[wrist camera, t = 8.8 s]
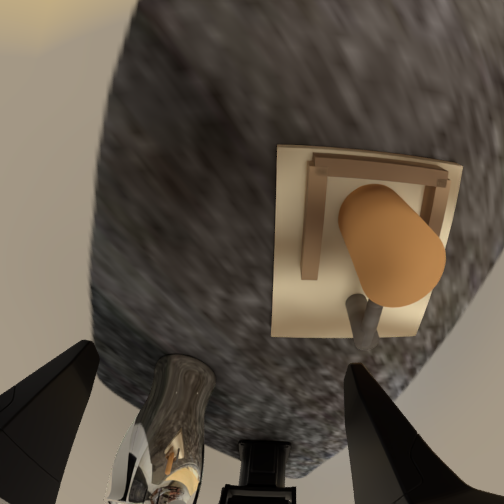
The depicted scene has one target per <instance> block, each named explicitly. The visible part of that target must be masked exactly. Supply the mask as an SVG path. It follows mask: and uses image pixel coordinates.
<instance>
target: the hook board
mask: <svg viewBox="0 0 504 504" xmlns="http://www.w3.org/2000/svg"><path fill="white" fill-rule="evenodd" d="M462 169H463V166H461V165H459V164H457V163H454V162H448V161H443V160H437V159H431V158H424V157H417V156H411V155H403V154H395V153H387V152H379V151H369V150H359V149H348V148H336V147H321V146H303V145H277V180H276V220H275V252H274V280H273V305H272V327H271V337H299V338H354V343H355V346H356V348H358V349H359V350H369V349H372V348H374V347H375V346H376V345H377V344H378V342H379V337H401V336H415V335H416V333H417V330H418V328H419V325H420V323H421V320H422V318H423V315H424V312H425V310H426V307H427V304H428V301H429V298H430V295H431V293H432V290H433V289H432V290H431V291H430V292H429V293H428V294H427V295H426V296H425V297H423V298H422V299H420V300H419V301H417V302H415V303H413V304H410V305H407V306H403V307H396V308H391V307H384V306H380V305H378V304H376V303H374V302H373V301H371V300H370V299H369V298H368V297H367V296H366V294H365V293H364V291H363V289H362V286H361V284H360V281H359V278H358V275H357V273H356V270H355V267H354V265H353V262H352V259H351V257H350V254H349V252H348V249H347V246H346V244H345V241H344V239H343V236H342V234H341V231H340V229H339V224H338V215H339V211H340V207H341V205H342V203H343V202H344V200H345V199H346V197H347V196H348V195H349V194H350V193H351V192H353V191H354V190H355V189H357V188H359V187H361V186H364V185H367V184H381V185H385V186H387V187H389V188H391V189H392V190H394V191H395V192H396V193H397V194H398V195H399V196H400V197H401V198H402V199H403V200H404V201H405V202H406V203H407V204H408V205H409V206H410V207H411V208H412V209H413V210H414V211H415V212H416V213H417V214H418V215H419V216H420V217H421V218H422V219H423V220H424V221H425V223H426V224H427V225H428V226H429V227H430V228H431V229H432V230H433V231H434V232H435V233H436V234H437V236H438V237H439V238H440V239H441V241H442V243H443V245H444V248H445V247H446V243H447V240H448V236H449V232H450V228H451V224H452V219H453V215H454V211H455V206H456V201H457V196H458V191H459V186H460V181H461V175H462Z"/></svg>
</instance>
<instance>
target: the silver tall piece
mask: <svg viewBox="0 0 504 504" xmlns="http://www.w3.org/2000/svg"><path fill="white" fill-rule="evenodd" d="M215 385H216V377H215V374H214V372H213V371H212V370H211V369H210V368H209V367H208V366H207V365H206V364H205V363H203V362H201V361H200V360H198V359H195V358H193V357H190V356H186V355H178V354H174V355H167V356H164V357H162V358H161V359H159V360H158V362H157V363H156V366H155V370H154V376H153V383H152V387H151V391H150V393H149V396H148V398H147V400H146V402H145V403H144V405H143V407H142V408H141V410H140V412H139V413H138V415H137V416H136V418H135V419H134V421H133V423H132V424H131V426H130V428H129V429H128V431H127V433H126V435H125V437H124V438H123V440H122V442H121V444H120V446H119V449H118V451H117V454H116V457H115V460H114V463H113V466H112V469H111V473H110V477H109V481H108V486H107V491H106V494H105V498H104V502H105V503H106V504H196V503H197V500H198V496H199V492H200V488H201V482H202V477H203V469H204V419H205V412H206V407H207V404H208V401H209V399H210V397H211V395H212V393H213V390H214V388H215Z"/></svg>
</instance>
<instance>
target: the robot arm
mask: <svg viewBox="0 0 504 504" xmlns="http://www.w3.org/2000/svg"><path fill="white" fill-rule="evenodd" d="M99 361H100V358H99V354H98V352H97V350H96V348H95V345H94V343H93V342H92V341H88V340H81V341H80V342H78V343H76V344H75V345H73V346H72V347H70V348H69V349H67V350H66V351H65V352H63V353H62V354H60V355H59V356H57V357H56V358H54V359H53V360H51V361H50V362H48V363H47V364H45V365H44V366H42V367H41V368H39V369H38V370H37V371H35V372H34V373H32V374H31V375H29V376H28V377H26V378H25V379H23V380H22V381H20V382H19V383H18V384H16V386H13V387H12V388H10V389H9V390H7V391H6V392H4V393H3V394H1V395H0V504H55V503H56V499H57V495H58V491H59V488H60V484H61V480H62V477H63V474H64V470H65V467H66V464H67V461H68V458H69V454H70V451H71V448H72V445H73V442H74V439H75V436H76V433H77V430H78V427H79V425H80V422H81V419H82V416H83V413H84V411H85V408H86V405H87V403H88V400H89V397H90V394H91V391H92V387H93V383H94V380H95V376H96V372H97V369H98V365H99ZM344 408H345V428H346V435H347V442H348V449H349V457H350V465H351V473H352V480H353V490H354V499H355V504H504V496H501V495H496V494H492V493H489V492H485V491H481V490H477V489H475V488H473V487H471V486H469V485H467V484H466V483H465V482H464V481H462V480H461V479H460V478H459V477H458V476H457V475H456V474H455V473H454V472H453V471H452V470H451V469H450V468H449V467H448V466H447V465H446V464H445V463H444V462H443V461H442V460H441V459H440V458H439V457H438V456H437V455H436V454H435V453H434V452H433V451H432V449H431V448H430V447H429V446H428V445H427V444H426V442H425V441H424V440H423V439H422V437H421V436H420V435H419V434H417V431H416V430H415V429H414V427H413V426H412V425H411V424H410V422H409V421H408V420H407V419H406V417H405V416H404V415H403V414H402V412H401V411H400V410H399V408H398V407H397V406H396V405H395V403H394V402H393V401H392V400H391V398H390V397H389V396H388V395H387V394H386V392H385V391H384V390H383V389H382V387H381V386H380V385H379V384H378V382H377V381H376V380H375V379H374V377H373V376H372V375H371V374H370V372H369V371H368V370H367V369H366V367H365V366H364V365H363V364H362V363H350V364H349V365H348V368H347V372H346V375H345V378H344ZM290 448H291V444H290V443H280V442H257V441H239V454H240V461H241V469H240V478H239V486H234V485H230V484H226V485H225V487H223V488H222V491H221V497H220V501H219V503H218V504H296V487H285V466H286V463H287V461H288V457H289V453H290ZM289 500H290V501H289Z"/></svg>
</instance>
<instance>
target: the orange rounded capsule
mask: <svg viewBox="0 0 504 504" xmlns="http://www.w3.org/2000/svg"><path fill="white" fill-rule="evenodd" d="M338 224H339V229H340V231H341V234H342V236H343V239H344V241H345V244H346V246H347V249H348V252H349V254H350V257H351V259H352V262H353V265H354V267H355V270H356V273H357V275H358V278H359V281H360V284H361V286H362V289H363V291H364V293H365V294H366V296H367V297H368V298H369V299H370V300H371V301H373V302H374V303H376V304H378V305H380V306H384V307H391V308H396V307H403V306H407V305H410V304H413V303H415V302H417V301H419V300H420V299H422V298H423V297H425V296H426V295H427V294H428V293H429V292H430V291H431V290H432V289H433V288H434V287H435V286H436V284H437V283H438V281H439V280H440V278H441V276H442V273H443V271H444V267H445V261H446V254H445V248H444V245H443V243H442V241H441V239H440V238H439V237H438V236H437V234H436V233H435V232H434V231H433V230H432V229H431V228H430V227H429V226H428V225H427V224H426V223H425V221H424V220H423V219H422V218H421V217H420V216H419V215H418V214H417V213H416V212H415V211H414V210H413V209H412V208H411V207H410V206H409V205H408V204H407V203H406V202H405V201H404V200H403V199H402V198H401V197H400V196H399V195H398V194H397V193H396V192H395V191H394V190H392V189H391V188H389V187H387V186H385V185H381V184H367V185H364V186H361V187H359V188H357V189H355V190H354V191H353V192H351V193H350V194H349V195H348V196H347V197H346V199H345V200H344V202H343V203H342V205H341V207H340V211H339V215H338Z"/></svg>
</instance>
